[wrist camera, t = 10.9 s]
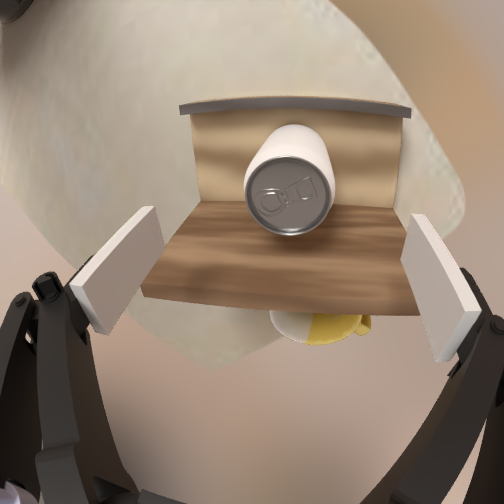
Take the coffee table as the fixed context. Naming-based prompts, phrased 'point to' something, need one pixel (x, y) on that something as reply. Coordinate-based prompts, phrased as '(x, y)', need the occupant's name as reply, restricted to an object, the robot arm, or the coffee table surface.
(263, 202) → the can
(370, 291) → the brown piece
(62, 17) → the coffee table surface
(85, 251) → the coffee table surface
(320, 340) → the mug
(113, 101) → the coffee table surface
